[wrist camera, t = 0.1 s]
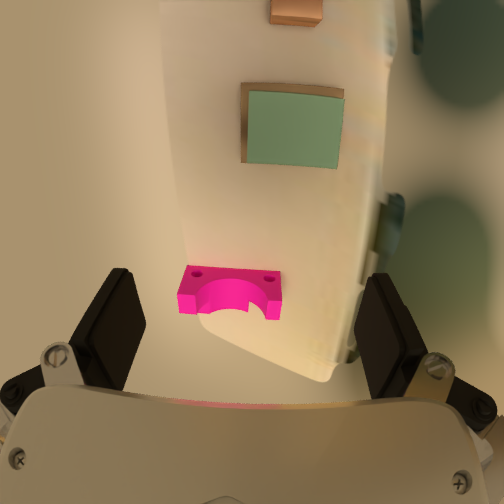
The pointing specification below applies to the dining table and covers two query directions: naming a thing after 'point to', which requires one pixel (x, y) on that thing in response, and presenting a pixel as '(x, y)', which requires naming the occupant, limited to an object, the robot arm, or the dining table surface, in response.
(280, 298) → the magenta curved bracket
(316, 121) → the tower top
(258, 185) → the dining table surface
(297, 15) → the terracotta cube
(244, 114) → the tower base
